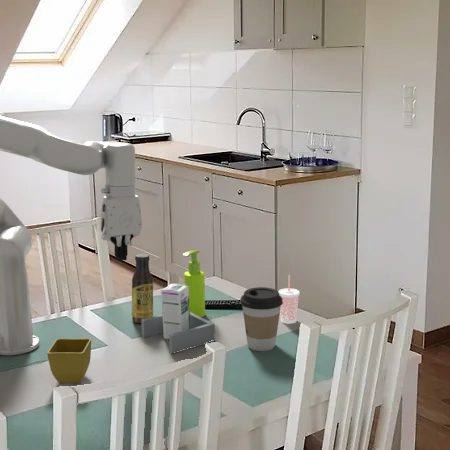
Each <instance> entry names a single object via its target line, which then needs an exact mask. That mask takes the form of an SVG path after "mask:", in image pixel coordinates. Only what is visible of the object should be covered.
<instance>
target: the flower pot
mask: <svg viewBox="0 0 450 450" xmlns="http://www.w3.org/2000/svg"><path fill="white" fill-rule="evenodd" d="M46 354H47V360H48V364H49V368H50V371H51V374H52V376H53V377H54V379H55V380H56V381H57V383H59V384H62V385H65V384H69V383H79V384H81V383H82V382H83V380H84V378H85V376H86V374H87V372H88V368H89V366H90V363H91V356H92V355H91V354H92V338H56V339H55V340H54V342H53V343H52V345H51V346H50V347H49V349H48V350H47V352H46Z"/></svg>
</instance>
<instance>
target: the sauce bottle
mask: <svg viewBox="0 0 450 450" xmlns="http://www.w3.org/2000/svg"><path fill="white" fill-rule="evenodd" d="M134 256H135V257H134V258H135V259H134V260H135V271H134V273H133V276H132V279H131V284H132V285H131V315H132V317H131V320H132V322H133V323H136V324H141V320H142V319H146V318H149V317H153V316H154V282H153V281H154V280H153V275H152V273H151V271H150V265H149V264H150V262H149V261H150V255H149V254H148V253H147V254H146V253H139V254H136V255H134Z"/></svg>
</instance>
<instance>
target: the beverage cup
mask: <svg viewBox="0 0 450 450" xmlns="http://www.w3.org/2000/svg"><path fill="white" fill-rule="evenodd" d="M287 276H288V277H287V278H288V279H287V281H288V282H287V284H288V285H287V287H286V288H285V287H284V288H281V289H279V290H277V291H278V292H279V295H280V296H281V297H282V299H283V300H282V301H283V304H282V305H281V307H280V315H279V316H280V322H281V323H283V324H287V325H290V324H295V323H297V320H298V307H299V296H300V290H298V289H296V288H291V275H290V274H288V275H287Z"/></svg>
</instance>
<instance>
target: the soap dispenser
mask: <svg viewBox="0 0 450 450" xmlns="http://www.w3.org/2000/svg"><path fill="white" fill-rule="evenodd" d="M199 253H200V250H199V249H198V250H197V249H192V250H191V249H190V250H188V251H186V252H183V253H182V257H183V256H184V257H189V256H190V260H188V263H187V264H188V271H185V272H184V274H183V275H184V285H187V286H189V308H190V312H191V313H193V314H195V315H197V316H199V317H202V318H203V317H205V316H206V302H205V301H206V298H205V297H206V296H205V295H206V294H205V285H206V284H205V272H204V271H202V270H201V261H200V260H198V254H199Z"/></svg>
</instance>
